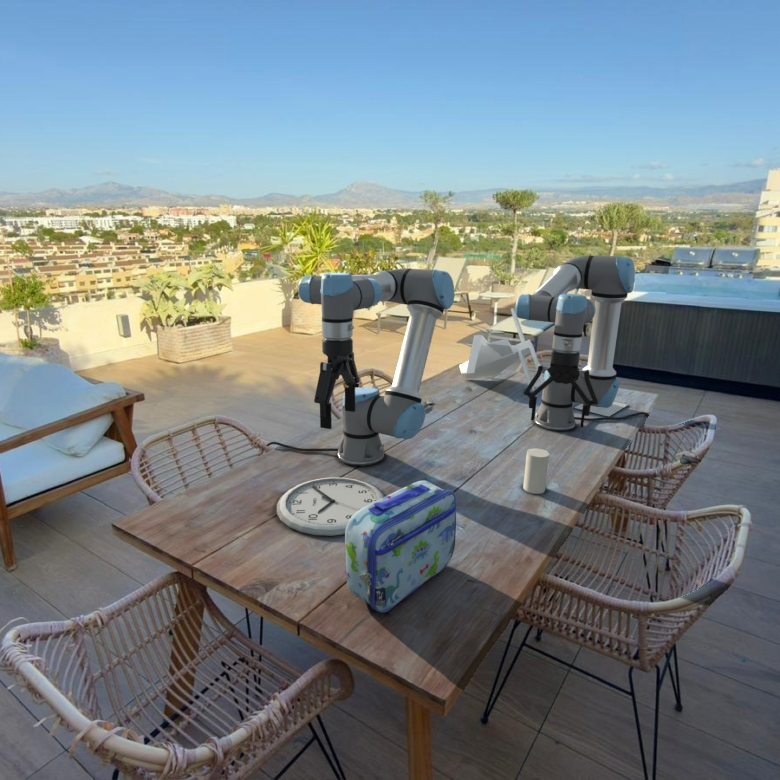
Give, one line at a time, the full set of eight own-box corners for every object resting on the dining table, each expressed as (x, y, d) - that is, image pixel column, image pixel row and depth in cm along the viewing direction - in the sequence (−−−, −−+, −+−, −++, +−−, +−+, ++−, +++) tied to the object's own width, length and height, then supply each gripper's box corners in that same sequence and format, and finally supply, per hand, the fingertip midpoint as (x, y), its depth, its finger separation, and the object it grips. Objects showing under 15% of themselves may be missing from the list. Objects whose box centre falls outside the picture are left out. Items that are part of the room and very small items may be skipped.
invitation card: (608, 416, 214) (573, 407, 224) (608, 416, 214) (573, 408, 224) (628, 404, 229) (594, 396, 238) (628, 405, 229) (594, 397, 238)
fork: (417, 411, 216) (418, 406, 216) (428, 400, 231) (428, 395, 230) (423, 412, 215) (424, 407, 215) (434, 400, 230) (434, 396, 229)
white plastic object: (480, 421, 262) (459, 398, 238) (462, 347, 285) (440, 320, 260) (552, 397, 250) (537, 370, 226) (527, 322, 272) (511, 290, 248)
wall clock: (392, 527, 129) (268, 531, 127) (391, 533, 130) (269, 537, 127) (383, 473, 158) (282, 475, 155) (383, 478, 158) (282, 480, 156)
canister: (521, 491, 152) (525, 454, 149) (525, 482, 158) (528, 446, 154) (543, 495, 150) (547, 458, 147) (546, 486, 155) (550, 450, 152)
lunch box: (374, 626, 100) (375, 530, 93) (338, 598, 107) (337, 508, 101) (459, 568, 117) (465, 484, 111) (424, 547, 124) (427, 467, 118)
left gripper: (326, 349, 116) (328, 438, 122) (371, 330, 138) (371, 406, 144) (297, 346, 118) (300, 433, 125) (346, 328, 140) (346, 402, 147)
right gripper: (518, 348, 146) (511, 419, 152) (614, 358, 138) (602, 433, 144) (522, 343, 153) (515, 412, 159) (614, 352, 144) (603, 424, 150)
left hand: (338, 419), depth 134 cm, fingers open, 13 cm apart
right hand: (556, 422), depth 151 cm, fingers open, 13 cm apart
